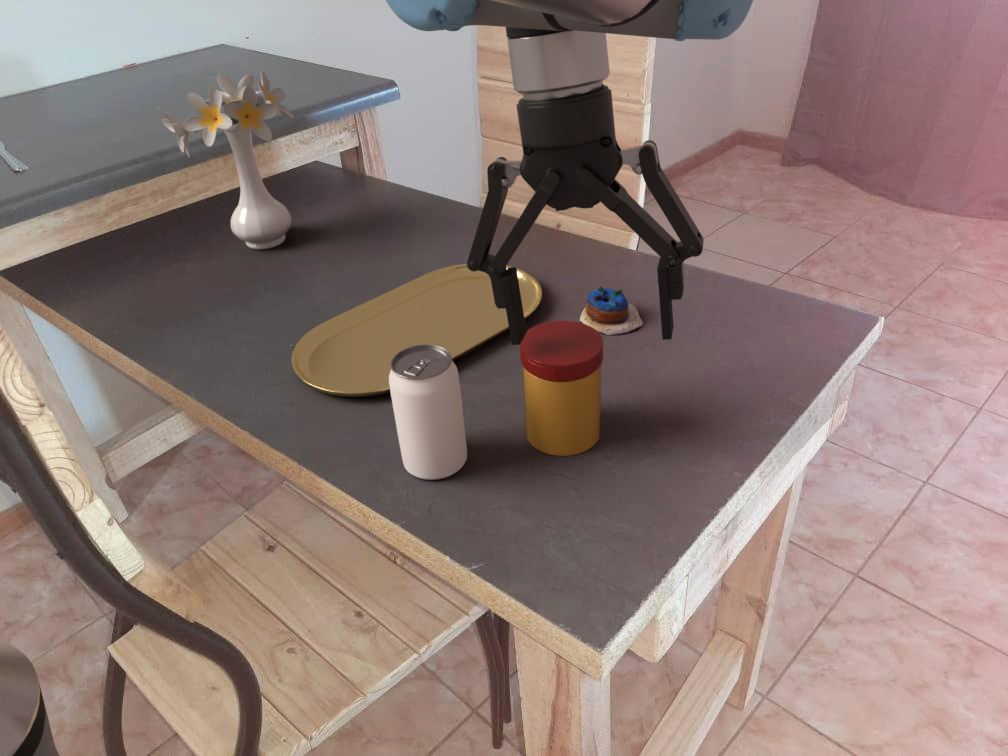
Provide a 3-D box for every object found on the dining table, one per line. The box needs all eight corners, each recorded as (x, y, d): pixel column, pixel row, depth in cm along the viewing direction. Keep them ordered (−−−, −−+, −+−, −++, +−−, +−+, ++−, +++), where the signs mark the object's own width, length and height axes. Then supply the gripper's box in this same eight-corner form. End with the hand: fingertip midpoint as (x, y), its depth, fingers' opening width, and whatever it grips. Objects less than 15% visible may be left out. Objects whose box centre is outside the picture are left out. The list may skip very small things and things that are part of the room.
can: (480, 451, 78) (470, 352, 71) (442, 491, 74) (428, 388, 67) (428, 432, 81) (414, 335, 74) (389, 469, 77) (371, 369, 70)
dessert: (564, 310, 99) (589, 270, 97) (597, 323, 103) (621, 284, 101) (601, 342, 93) (627, 300, 91) (634, 354, 98) (660, 314, 96)
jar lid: (598, 384, 71) (599, 368, 70) (513, 379, 72) (512, 363, 71) (606, 338, 77) (606, 322, 76) (527, 333, 79) (527, 318, 78)
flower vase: (190, 253, 122) (138, 88, 107) (291, 214, 132) (255, 60, 117) (231, 277, 114) (181, 103, 99) (335, 234, 124) (303, 71, 110)
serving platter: (571, 301, 102) (571, 290, 101) (354, 426, 83) (351, 414, 82) (475, 260, 113) (474, 250, 113) (264, 362, 94) (261, 351, 93)
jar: (596, 459, 76) (597, 371, 70) (520, 453, 78) (515, 366, 72) (603, 412, 82) (604, 327, 76) (532, 407, 84) (528, 323, 78)
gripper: (728, 61, 60) (735, 313, 70) (431, 102, 68) (473, 324, 77) (727, 74, 54) (735, 349, 63) (399, 117, 61) (449, 358, 71)
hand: (591, 336), depth 70 cm, fingers open, 13 cm apart
